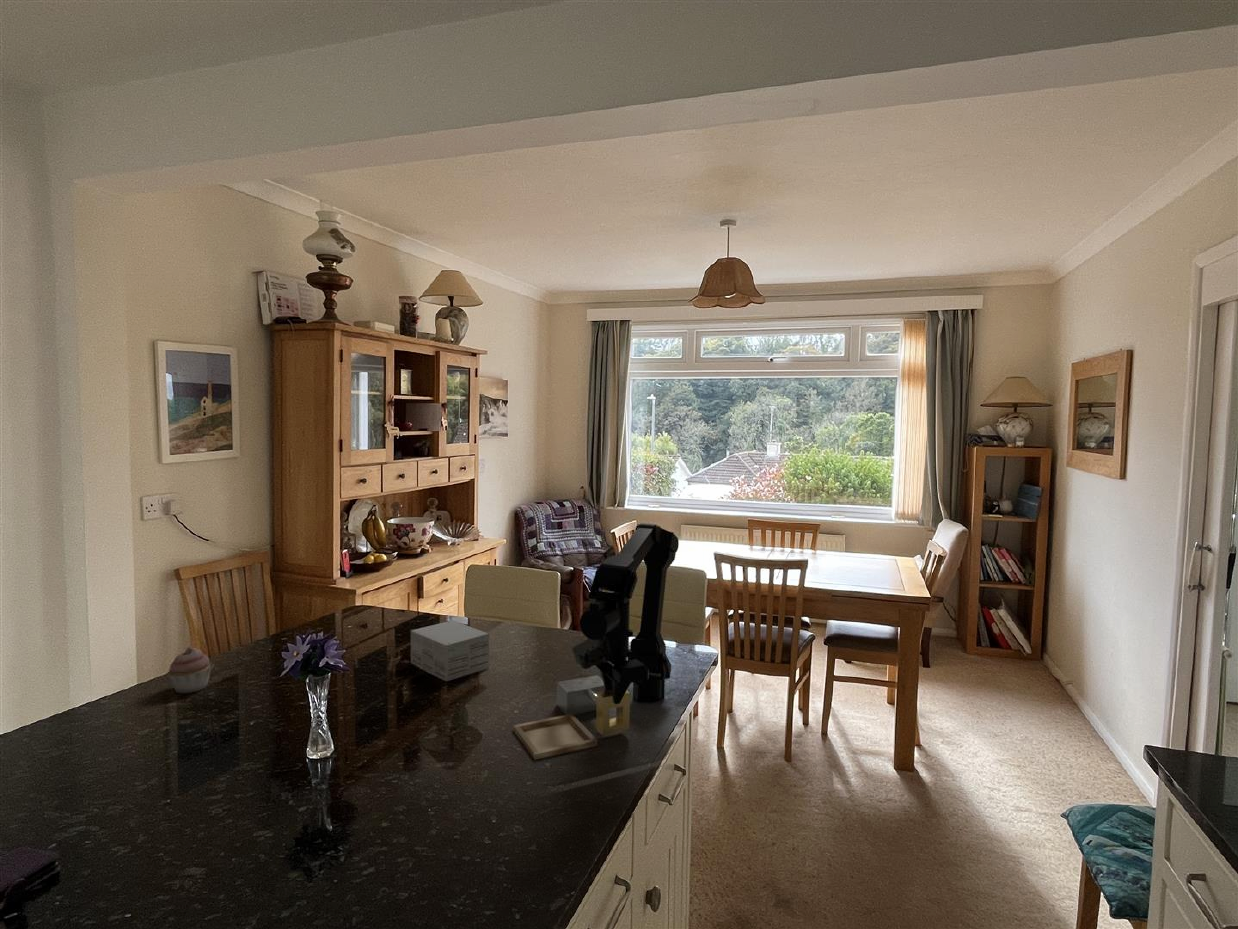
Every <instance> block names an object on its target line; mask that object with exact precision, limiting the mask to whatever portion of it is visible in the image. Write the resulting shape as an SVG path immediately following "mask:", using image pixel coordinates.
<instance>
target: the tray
mask: <svg viewBox="0 0 1238 929" xmlns="http://www.w3.org/2000/svg"><path fill="white" fill-rule="evenodd" d="M512 729H513V731H514V733H515V735H516V736H517V738H518V739H519V740H520V742H521V744H523V745H524V748H526V750H527V751H528V753H529V754H530V755H531V757H532V758H533V759H534V761H536V760H540V759H543V758H549V757H554V756H559V755H563V754H566V753H571V752H576V751H581V750H584V749H588V748H593V747H598V739H597V738H596V737H595V736H594V735H593V734H592V733H591V732H590V731H589V730H588V729H587V728H586V726H584V724H583V723H581V722H580V720H579V719H578V718H577V717H576V716H575V715H573V714H568V715H566V714H564V715H559V716H553V717H548V718H543V719H538V720H533V721H528V722H524V723H518V724H514V725H513V726H512Z"/></svg>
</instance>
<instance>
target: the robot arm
mask: <svg viewBox="0 0 1238 929" xmlns="http://www.w3.org/2000/svg"><path fill="white" fill-rule="evenodd" d="M679 541H680V540H679V537H677V535H676V534H675V532H673V531H669V530H666V529H665V528H662V527H661V526H660V525H657V524H651V523H638V524H637V525H636V526H635V530H634V533H632V535H631V536H630V538H629V539H628V540H627V541H626V542H625V544H624V546H623V547H622V548H621V549H620V551H619V552H618V553H617V554H614V555H611V556H608V557H607V558H606V559H604V560H603V561H602V562H601V563H600V564H599V566H598V567H597V569H596V571H595V574H594V576H593V579H592V580H593V581H592V583H591V586H590V590H589V592H588V600H594V601H591V602H589V609H587V610H585V611H584V612H583V613H582V615H581V616H580V619H579V628H580V631H581V632H582V634H583V635H584V636H585V637H586V638H588V639H586V640H584V641H582V642H581V643H578V644H577V645H575V646H573V647H572V648H571V649H572V653H573V656H574V659H575V661H576V664H577V665H579V666H580V667H581V668H582V669H584V670H588V669H590V668H591V667H592V666H595V667H596V668H597V669H598V670H599V671H600V675H601V676H600V677H601V678H602V679H603V683H604V687H605V690H611V689H613V698H614V703H615V704H619V703H620V702H621V700H622V698H623V696H624V694H625V693H626V691H628V688H629V687H630V685H631V684H632V699H633V700H635V701H636V702H637V703H648V704H653V703H658V702H660V701H661V700H662V699H665V693H666V692H665V687H666V686H665V684H666V683H665V681H666V680H669V679H670V678H671V672H672V663H671V661H670V659H669V657H668V655H667V654H666V653H667V651H666V649H667V645H666V643H665V641H664V639H663V636H662V634H661V629H662V621H663V620H662V619H663V613H664V612H663V610H664V600H665V591H666V590H665V589H666V581H667V572H668V569H669V568H670V566H671V565H672V564H673V562H674V561H675V560H676V556H677V555H676V554H677V552H678V550H679V544H680V543H679ZM642 562H644V564H645V567H646V570H645V580H644V581H645V582H644V589H643V598H642V600H643V601H642V607H641V608H642V609H641V619H640V626H639V632H638V633H637V635H636V636H635V637H634V631H633V630H632V629H631V628H630V605H631V604H630V601H631V599H632V598H633V593H634V591H635V588H636V586H637V583H638V576H637V570H638V568H639V566H640V565H641V564H642ZM632 637H634V638H632ZM630 638H632V639H631V641H630ZM629 643H630V644H629Z"/></svg>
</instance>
